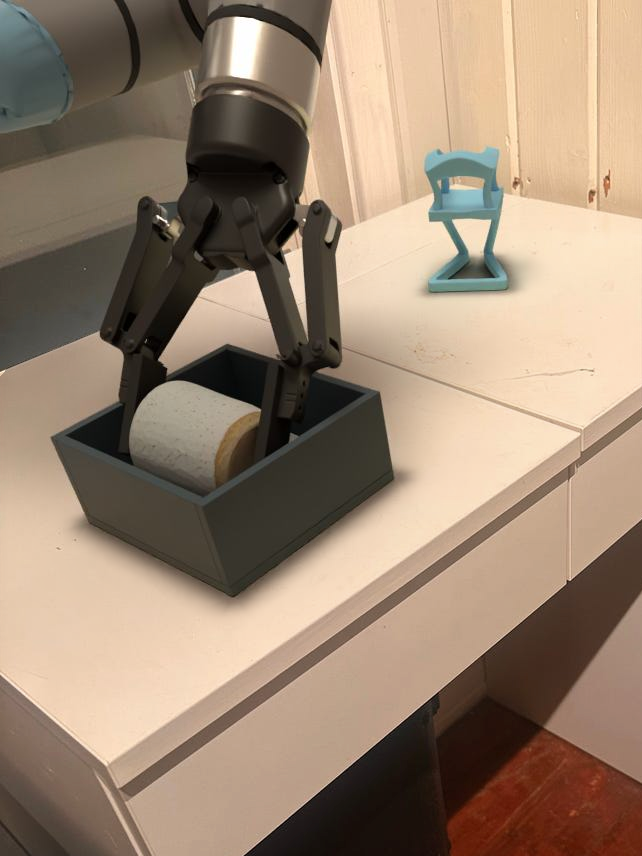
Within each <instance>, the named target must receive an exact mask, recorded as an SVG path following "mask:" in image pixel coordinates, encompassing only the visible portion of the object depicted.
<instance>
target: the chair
mask: <svg viewBox="0 0 642 856" xmlns="http://www.w3.org/2000/svg"><path fill="white" fill-rule="evenodd" d="M499 156H500V149H499V148H496V147H491V146H488V145H487V146H486V147H485V148H484V150H483V151H482V152H473V151H469V150H453V151H449V152H446V153H444V152H442V151H441V149H440V148H436V149H433V150H432V151H430V152H428V153H427V154H425V157H424V163H423V169H424V173H425V175H426V177H427V180H428V181H429V184H430V187H431V189H432V192H433V202H432V204H431V206H430V208H429V210H428V211H427V213H428V214H427V215H428V223H441V222H442V224H443V226H444V227H445V229H446V231H447V234H448V235H449V237H450V238H451V241H452V242H453V244H454V246H455V248H456V250H457V254H456V255H455V256H454V257H453V258H452V259H451V260H450V261H448V262H447V263H446V264H445V265H444V266H443V267H441V268H440V269H439V270H438V271H437V272H435V273H434V274H433V275H432V276H431V277H430V278H429V279H428V281H427V283H428V290H429V292H431V293H440V292H471V291H473V292H474V291H503V290H507V289H508V288H509V287H508V285H509V284H508V276H507V273H506V272H505V270H504V268H503V267H502V266H501V264H500V262H499V261H498V259H497V257H496V256H495V253H494V247H495V242H496V239H497V234H498V229H499V225H500V220H501V216H502V210H503V203H504V197H505V195H504V194H505V193H504V192H505V191H504V186H499V184H498V182H497V170H498V169H497V167H498V163H499ZM456 177H471V178H478V179H482V180H484V182H483V186H482V188H473V189H471V188H469V189H456V188H455V189H453V188H450V187H451V186H450V185H451V184H450V178H456ZM439 181H440V185H439V183H438V182H439ZM453 220H479V221H480V220H481V221H490V224H489V229H488V233H487V236H486V240H485V243H484V246H483V260H484V263H485V265H486V267H487V269H488V270H489V271H490V273H491V274H492V276H493V277H487V278H486V277H485V278H456V279H455V278H454V279H450V278H451V277H452V276H454V275H455V274H456V273H457V272H458V271H460V270H461V269H462V268H464V266H466V264H467V263H468V262H469V261H470V254H469V249H468V248H467V247H468V246H467V245H466V244H465V241H464V240H463V239H462V237H461V235H460V233H459V231H458V229H457V227H456V225H455V223H454V221H453Z"/></svg>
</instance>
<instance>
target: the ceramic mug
mask: <svg viewBox="0 0 642 856" xmlns="http://www.w3.org/2000/svg"><path fill="white" fill-rule="evenodd" d="M260 413H261V409H259V408H257V407H255V406H253V405H251V404H248V403H245V402H242V401H239V400H236V399H233V398H230V397H227V396H225V395H222V394H220V393H217V392H215V391H212V390H209V389H207V388H204V387H202V386H199V385H197V384H194V383H190V382H186V381H170V382H166V383H164V384H162V385H159V386H158V387H156V388H155V389H153V390H152V391H151V392H150V393H149V394H148V395H147V396H146V397H145V398H144V399H143V401H142V402H141V403H140V405H139V407H138V408H137V410H136V413H135V415H134V418H133V421H132V425H131V429H130V435H129V448H130V454H131V459H132V462H133V465H134V467H136V468H138V469H141V470H143V471H145V472H147V473H150V474H152V475H154V476H156V477H159V478H161V479H163V480H165V481H167V482H170V483H172V484H174V485H176V486H179V487H181V488H183V489H185V490H187V491H190V492H192V493H194V494H196V495H199V496H201V497H203V498H204V497H205V496H207V495H208V494H210V493H211V492H213V491H215V490H216V489H218V488H219V487H221V486H222V485H224V484H226V483H227V482H229V481H230V480H232V479H233V478H235V477H236V476H238V475H240V474H241V473H243V472H244V471H246V470H247V469H249V468H251V467H252V466H253V459H254V453H255V446H256V440H257V433H258V426H259V420H260ZM297 437H299V436H297V435H294V434H292V433H290V439H289V443H290V442H291V441H293V440H294V439H296V438H297Z"/></svg>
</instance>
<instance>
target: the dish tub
mask: <svg viewBox="0 0 642 856" xmlns="http://www.w3.org/2000/svg"><path fill="white" fill-rule="evenodd" d="M268 364H279V365H281V366H282V367H284V362H282V361H281V360H280V359H278V358H274V357H271V356H268V355H265V354H262V353H259V352H255V351H252V350H249V349H246V348H243V347H239V346H236V345H233V344H230V343H225V344H224V345H222V346H220V347H218V348H216V349H214V350H212V351H211V352H209V353H206V354H204V355H202V356H201V357H199V358H197V359H195V360H194V361H192V362H189V363H187V364H185V365H183V366H182V367H180V368H178V369H176V370H175V371H172V372H171V373H169V374H167V376H166V382H170V381H186V382H190V383H194V384H197V385H199V386H202V387H204V388H207V389H209V390H212V391H215V392H217V393H220V394H222V395H225V396H227V397H230V398H233V399H236V400H239V401H242V402H245V403H248V404H251V405H253V406H255V407H257V408H259V409H261V407H262V400H263V394H264V387H265V381H266V374H267V368H268ZM306 402H307V403H306V407H305V416H304V418H303V420H302V422H301V424H292V425H291V432H290V433H292V434H294V435H297V436H299V437H297V438H296V439H294V440H293V441H291V442H290V443H288V444H286V445H285V446H283V447H282V448H280V449H279V450H277V451H276V452H274V453H272V454H271V455H269V456H268V457H266V458H265V459H263V460H261V461H260V462H258V463H257V464H255V465H254V466H252V467H251V468H249V469H247V470H246V471H244V472H243V473H241V474H240V475H238V476H236V477H235V478H233V479H232V480H230V481H229V482H227V483H226V484H224V485H222V486H221V487H219V488H218V489H216V490H215V491H213V492H211V493H210V494H208V495H207V496H205V497H204V498H203V497H201V496H199V495H196V494H194V493H192V492H190V491H187V490H185V489H183V488H181V487H179V486H176V485H174V484H172V483H170V482H167V481H165V480H163V479H161V478H159V477H156V476H154V475H152V474H150V473H147V472H145V471H143V470H141V469H138V468H136V467H134V465H133V462H132V459H131V457H129V456H126V455H124V454H121V453H118V449H119V443H120V436H121V430H122V423H123V417H124V410H125V405H123V404H121V403H120V402H119V400H118V401H116V402H114V403H112V404H111V405H110V404H109V405H108V406H106V407H104V408H102V409H101V410H99V411H97V412H95V413H93V414H91V415H90V416H87V417H86V418H83V419H82V420H80V421H78V422H76V423H74V424H72V425H71V426H69V427H67V428H65V429H63V430H61V431H59V432H57V433H56V434H53V435H51V436H50V441H51V443H52V445H53V447H54V450H55V451H56V454H57V457H58V458H59V461H60V462H61V464H62V465H61V466H62V467H63V469H64V472H65V474H66V475H67V478H68V480H69V482H70V485H71V487H72V489H73V492H74V493H75V496H76V498H77V500H78V503H79V504H80V507H81V509H82V511H83V513H84V516H85V518H86V521H87V522H88V523H90V524H91V525H94V526H95V527H97V528H99V529H101V530H103V531H105V532H107V533H109V534H111V535H113V536H115V537H117V538H119V539H120V540H123V541H124V542H127V543H128V544H131V545H132V546H134V547H136V548H138V549H140V550H142V551H143V552H146V553H148V554H149V555H152V556H153V557H155V558H157V559H159V560H160V561H163V562H166V563H167V564H169V565H171V566H173V567H175V568H177V569H179V570H181V571H182V572H184V573H187V574H188V575H190V576H192V577H194V578H197V579H198V580H200V581H202V582H204V583H206V584H208V585H209V586H212V587H213V588H216V589H217V590H219V591H221V592H223V593H225V594H227V595H229V596H231V597H235V596H236V595H237V594H239V593H240V592H241V591H243V590H244V589H246V588H247V587H249V586H250V585H251V584H252V583H253V582H255V581H256V580H258V579H259V578H261V577H262V576H263V575H265V574H266V573H267V572H269V571H270V570H271V569H273V568H274V567H276V566H277V565H278V564H280V563H281V562H282V561H284V560H285V559H286V558H288V557H289V556H290V555H293V554H294V553H295V552H296V551H297V550H298V549H300V548H302V547H303V546H304V545H306V544H307V543H309V541H311V540H313V539H314V538H315V537H316V536H318V535H319V534H321V533H322V532H323V531H324V530H326V529H327V528H329V527H330V526H332V525H333V524H334V523H335V522H337V521H338V520H340V519H341V518H342V517H344V516H345V515H347V514H348V513H349V512H351V511H352V510H353V509H354V508H356V507H357V506H358V505H360V504H361V503H363V502H364V501H365V500H366V499H368V498H370V497H371V496H372V495H373V494H375V493H377V492H378V491H379V490H380V489H382V488H383V487H385V486H386V485H387V484H389V483H390V482H391V481H392V480H394V479H395V474H394V469H393V467H394V466H393V462H392V456H391V450H390V449H391V448H390V443H389V438H388V437H389V436H388V431H387V425H386V419H385V414H384V408H383V402H382V396H381V391H380V390H376V389H372V388H369V387H366V386H364V385H363V386H362V385H360V384H356V383H353V382H351V381H348V380H344V379H342V378H341V379H340V378H338V377H335V376H331V375H329V374H325V373H322V372H318V371H316V372H315V373H314V374H313V375H312V376H311V378H310V383H309V390H308V396H307V401H306Z"/></svg>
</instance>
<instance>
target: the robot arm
mask: <svg viewBox="0 0 642 856" xmlns="http://www.w3.org/2000/svg"><path fill="white" fill-rule="evenodd" d="M332 3H333V0H0V134H8V133H11V132H17V131H20V130H21V131H22V130H25V129H29V128H33V127H38V126H47V125H51V124H53V123H54V122H58V121H59V120H61V119H62V118H63V117H64V116H65V115H67V114H70V113H73V112H75V111H78V110H79V109H80V110H81V109H83V108H85V107H88V106H90V105H92V104H95V103H98V102H101V101H103V100H106V99H108V98H111V97H116V96H119V95H123V94H126V93H129V92H131V91H135V90H137V89H141V88H143V87H145V86H149V85H151V84H154V83H157V82H159V81H162V80H164V79H168V78H170V77H172V76H175V75H179V74H180V73H185V72H187V71H190V70H194V69H197V74H196V79H195V84H194V85H195V86H194V91H193V94H194V100H195V104H194V105H193V108H192V109H191V115H190V122H189V128H188V129H189V130H188V134H187V136H188V137H187V141H186V148H185V155H184V157H185V166H186V175H187V181H186V184H185V187H184V188H183V191H182V192H181V193H180V195H179V196H178V199H177V201H167V202H166V201H165V202H157V201H156V200H154V198H152V197H151V196H150V195H145V196H142V197H141V198H140V199H139V201H138V202H137V206H136V207H137V209H136V226H135V233H134V235H133V238H132V241H131V244H130V246H129V249H128V252H127V255H126V257H125V260H124V263H123V266H122V268H121V271H120V274H119V277H118V280H117V282H116V285H115V288H114V290H113V293H112V296H111V298H110V301H109V304H108V306H107V310H106V312H105V315H104V318H103V320H102V323H101V325H100V329H99V333H98V335H99V337H100V339H101V340H102V341H103V342H105V343H107V344H109V345H110V346H113V347H114V348H116V349H118V350H119V351H121V353H122V355H123V362H122V368H121V375H120V381H119V388H118V401H119V402H120V403H121V404H123V405H125V410H124V417H123V423H122V430H121V436H120V443H119V449H118V453H121V454H124V455H126V456H129V457H131V454H130V448H129V435H130V429H131V425H132V421H133V418H134V415H135V413H136V410H137V408H138V407H139V405H140V403H141V402H142V401H143V399H144V398H145V397H146V396H147V395H148V394H149V393H150V392H151V391H152V390H153V389H155V388H156V387H158V386H159V385H162V384H164V383H166V376H167V375H168V371H169V368H168V367H167V366H165V364H164V363H162V361H160V360H159V359H160V358H161V356H162V354H163V353H164V351H165V349H166V348H167V346H168V345H169V344H170V342H171V340H172V338H173V337H174V335H175V334H176V332H177V330H178V329H179V328H180V327H181V324H182V323H183V321H184V319H185V318H186V317H187V314H188V313H189V311H190V309H191V308H192V307H193V305H194V303H195V302H196V300H197V298H198V297H199V296H200V293H201V292H202V290H203V288H204V287H205V285H207V284H209V283H212V282H213V281H214V280H216V278H217V277H218V274H219V273H220V271H232V270H236V269H243V270H245V271H249V272H254V273H255V277H256V280H257V283H258V288H259V289H260V294H261V297H262V300H263V303H264V307H265V309H266V313H267V316H268V319H269V323H270V326H271V330H272V332H273V336H274V339H275V343H276V345H277V349H278V352H279V354H278V353H276V354H275V357H276V359H278V360H281V361H282V362H284V367H282V366H281V365H279V364H268V368H267V374H266V381H265V387H264V394H263V400H262V407H261V413H260V420H259V426H258V433H257V440H256V446H255V453H254V459H253V466H254V465H255V464H257V463H258V462H260V461H261V460H263V459H265V458H266V457H268V456H269V455H271V454H272V453H274V452H276V451H277V450H279V449H280V448H282V447H283V446H285V445H286V444H288V443H289V439H290V432H291V425H292V424H301V422H302V420H303V418H304V416H305V407H306V403H307V402H306V401H307V396H308V390H309V383H310V378H311V376H312V375H313V374H314V373H315V372H318V371H320V370H323V369H327V368H329V369H331V370H336V369H338V368H339V367H340V366H341V365H342V363H343V359H344V358H343V343H342V331H341V330H342V329H341V316H340V300H339V285H338V273H337V270H338V269H337V257H336V254H337V251H338V246H339V242H340V238H341V233H342V230H343V223H342V220H341V219H340V218H339V217H338V216H337V215H336V213H334V211H333V210H332V209H331V208H330V207H329V205H328V204H327V203H326V202H325V201H324V199H323V200H322V199H315V200H313V201H312V202H311V203H310V205H307V204H301V202H300V198H301V197H302V194H303V193H304V192H303V191H304V188H305V187H304V186H305V180H306V175H307V169H308V168H307V167H308V161H309V154H310V148H311V146H310V145H311V144H310V140H309V137H310V136H311V134H312V132H313V126H314V125H313V124H314V118H315V111H316V106H317V100H318V94H319V87H320V81H321V73H322V67H323V59H324V53H325V52H324V51H325V47H326V40H327V34H328V27H329V22H330V16H331V9H332ZM182 225H183V226H184V227H183V230H182V231H181V233H180V231H179V229H180V227H181V226H182ZM297 231H298V233H299V235H300V237H301V252H302V268H303V282H304V300H305V313H306V327H307V329H305V326H304V323H303V320H302V317H301V315H300V314H301V313H300V310H299V307H298V304H297V301H296V298H295V294H294V291H293V288H292V284H291V281H290V278H291V273H290V270H289V266H288V264H287V260H286V257H285V254H284V251H283V248H284V246H285V245H286V243H287V242H288V241H289V240H290V239H291V238H292V237H293V235H294V234H295V233H296V232H297ZM196 253H197V254H198V255H199V256H200V257H201V258H202V259H201V260H198V259H197V258H196V257H195V254H196ZM306 330H307V333H306Z"/></svg>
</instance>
